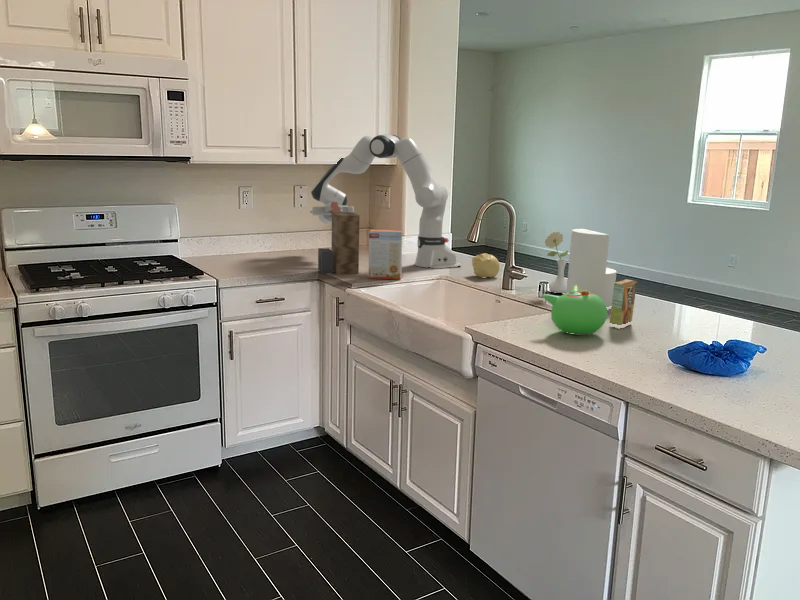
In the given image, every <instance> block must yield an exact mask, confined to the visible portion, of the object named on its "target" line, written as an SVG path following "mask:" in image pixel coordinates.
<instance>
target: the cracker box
mask: <svg viewBox="0 0 800 600" xmlns="http://www.w3.org/2000/svg"><path fill="white" fill-rule="evenodd" d="M368 233H369V234H368V235H369V236H368V279H374V280H394V281H395V280H397V281H399V280H401V279H402V272H403V269H402V268H403V267H402V266H403V265H402V264H403V230H397V229H396V230H393V229H392V230H390V229H370V230H369V231H368Z"/></svg>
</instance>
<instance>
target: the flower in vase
mask: <svg viewBox="0 0 800 600" xmlns="http://www.w3.org/2000/svg"><path fill="white" fill-rule="evenodd" d="M563 239H564V235H563V233H561V232H559V231H556V232H552V233H550V234H549V236H547V237H546V238H545V241H544V243H545V246H546V247H548V248H550V249H551V248H552V249H553V248H556V251H555V250H552V251H550V252H548V253H547V256H549V257H555V256H556V255H558V258H555V261H556V263H557V271H558V272H557V277H556V278H555V279H554V280H552V281H551V282H549V283H548V284H549V288H550V291H551V292H556V293H566V291H567V280H566V279H565V274H564V273H565V267H566V265H567V263H569V259H567V258H562V257H566V256H568V254H569V250H566V251H563V252H561V253H560V254H559V252H558V246H560V244H561V243H562V242H563ZM551 292H550V293H551Z"/></svg>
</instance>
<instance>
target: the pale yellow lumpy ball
mask: <svg viewBox="0 0 800 600" xmlns="http://www.w3.org/2000/svg"><path fill="white" fill-rule="evenodd" d="M471 265H472V268H473V274H474V275H475V276H476V277H478V276H479V277H478V278H480V277H490V278H494V277H496V276H498V274H499V271H500V262H499V260H498V258H497V257H496V256H494V255H493V254H488V253H485V252H484V253H480V254H477V255H475V256H473V257H472V258H471Z"/></svg>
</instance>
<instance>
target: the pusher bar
mask: <svg viewBox="0 0 800 600" xmlns="http://www.w3.org/2000/svg"><path fill="white" fill-rule="evenodd" d="M331 207H332V211H331V213H332V212H339V209H338V202H331Z"/></svg>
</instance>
